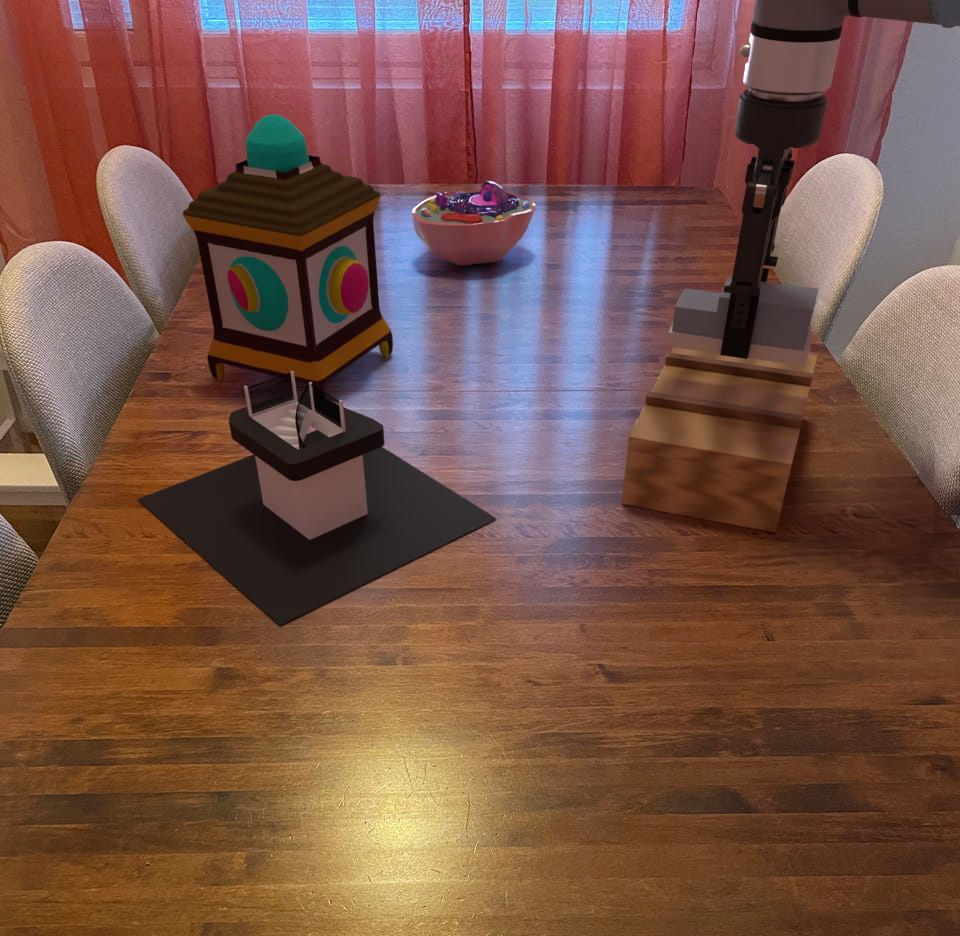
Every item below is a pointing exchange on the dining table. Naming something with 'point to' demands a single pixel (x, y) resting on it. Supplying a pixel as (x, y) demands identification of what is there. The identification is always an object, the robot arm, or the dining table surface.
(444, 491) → the black-topped pedestal
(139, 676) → the dining table surface
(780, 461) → the stepped wooden block
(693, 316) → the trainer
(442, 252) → the cell model
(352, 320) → the decorative lantern
